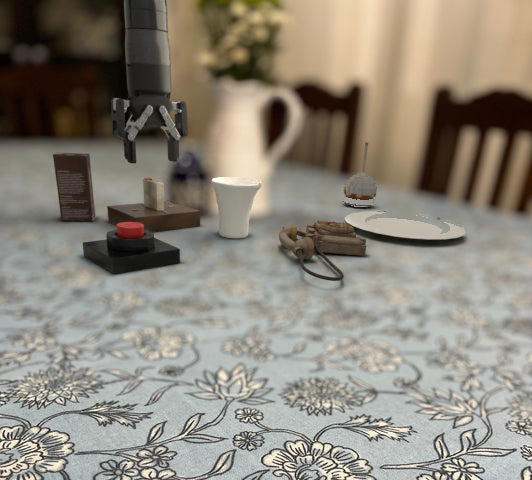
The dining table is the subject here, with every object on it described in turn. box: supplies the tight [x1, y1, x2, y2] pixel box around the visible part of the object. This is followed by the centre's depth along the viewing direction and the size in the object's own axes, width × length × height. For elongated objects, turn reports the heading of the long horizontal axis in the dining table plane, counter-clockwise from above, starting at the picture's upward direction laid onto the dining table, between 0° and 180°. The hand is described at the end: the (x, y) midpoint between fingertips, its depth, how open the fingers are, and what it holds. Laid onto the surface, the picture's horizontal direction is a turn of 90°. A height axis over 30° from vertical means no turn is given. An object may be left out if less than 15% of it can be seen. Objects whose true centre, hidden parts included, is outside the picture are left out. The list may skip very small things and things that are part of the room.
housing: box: [82, 228, 181, 275], centre depth 79 cm, size 11×10×4 cm
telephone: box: [278, 220, 367, 282], centre depth 87 cm, size 15×33×4 cm, turn 5°
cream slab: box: [142, 177, 165, 211], centre depth 98 cm, size 5×2×5 cm, turn 41°
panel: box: [106, 200, 201, 233], centre depth 100 cm, size 14×11×3 cm
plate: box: [344, 210, 467, 243], centre depth 108 cm, size 25×25×2 cm
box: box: [52, 152, 96, 222], centre depth 98 cm, size 6×4×12 cm
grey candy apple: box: [342, 141, 378, 207], centre depth 128 cm, size 8×8×15 cm
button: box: [115, 222, 144, 238], centre depth 77 cm, size 4×4×2 cm
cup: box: [211, 176, 262, 239], centre depth 95 cm, size 9×9×10 cm
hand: (152, 162), depth 96 cm, fingers open, 8 cm apart
